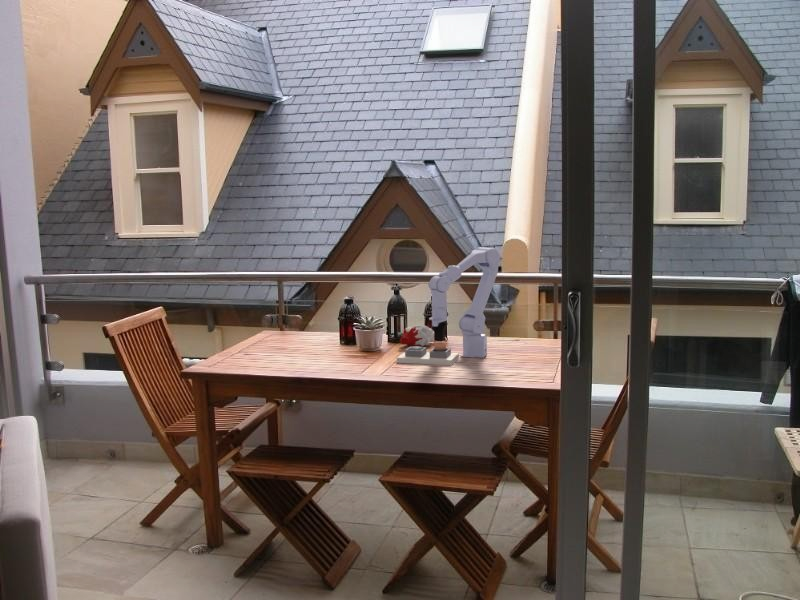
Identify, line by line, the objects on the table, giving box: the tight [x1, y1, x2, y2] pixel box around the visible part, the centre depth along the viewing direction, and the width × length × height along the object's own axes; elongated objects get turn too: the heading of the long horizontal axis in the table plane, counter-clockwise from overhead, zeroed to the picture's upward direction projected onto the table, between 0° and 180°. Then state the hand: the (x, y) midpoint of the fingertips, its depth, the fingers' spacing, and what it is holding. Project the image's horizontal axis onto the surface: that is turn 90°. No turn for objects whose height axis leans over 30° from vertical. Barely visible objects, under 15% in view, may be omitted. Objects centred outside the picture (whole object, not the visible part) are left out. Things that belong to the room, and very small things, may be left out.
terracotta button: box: [433, 340, 447, 350], centre depth 313 cm, size 5×5×2 cm
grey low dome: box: [409, 345, 423, 351], centre depth 316 cm, size 5×5×2 cm
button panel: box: [396, 346, 460, 366], centre depth 315 cm, size 22×12×4 cm, turn 72°
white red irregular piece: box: [399, 324, 434, 347], centre depth 341 cm, size 9×11×15 cm
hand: (439, 341), depth 312 cm, fingers closed
